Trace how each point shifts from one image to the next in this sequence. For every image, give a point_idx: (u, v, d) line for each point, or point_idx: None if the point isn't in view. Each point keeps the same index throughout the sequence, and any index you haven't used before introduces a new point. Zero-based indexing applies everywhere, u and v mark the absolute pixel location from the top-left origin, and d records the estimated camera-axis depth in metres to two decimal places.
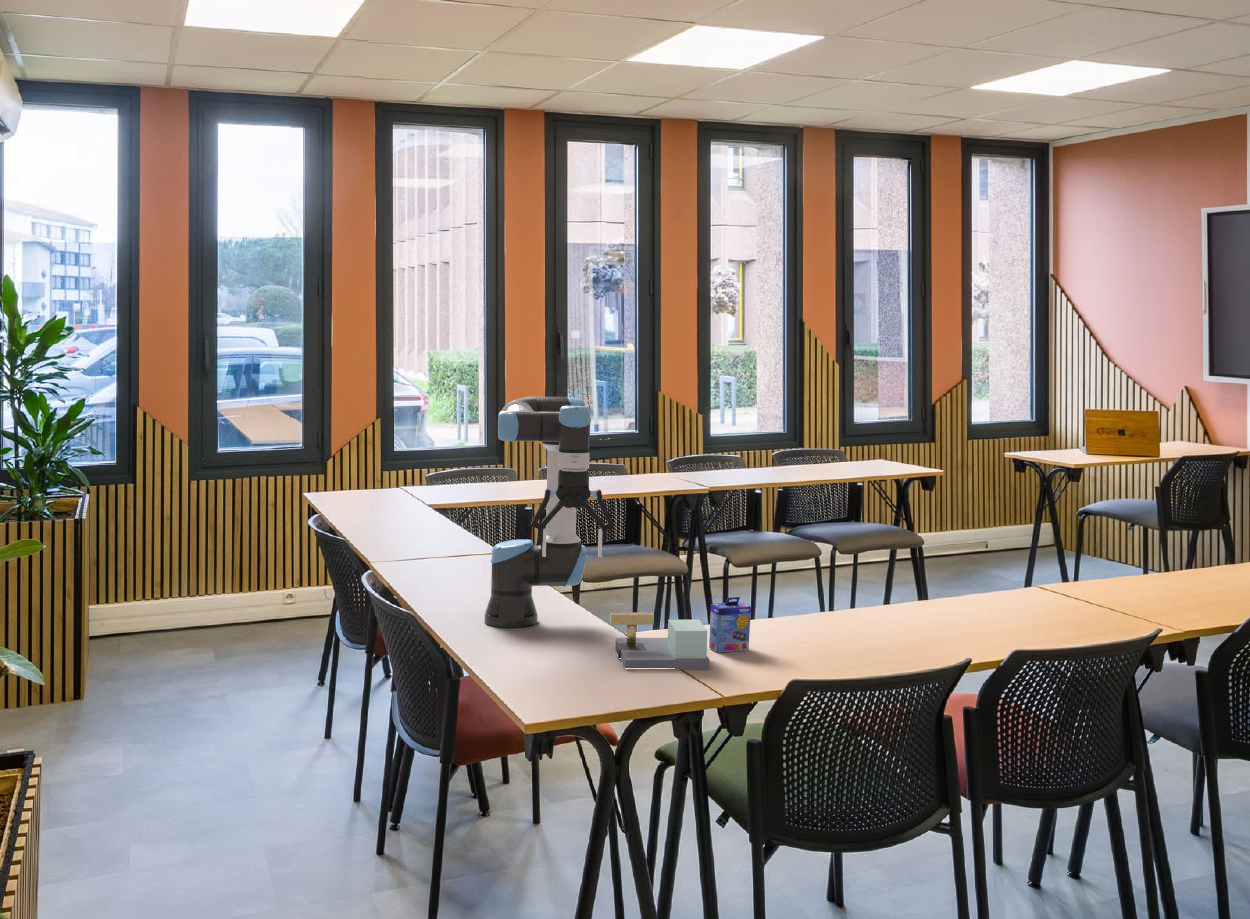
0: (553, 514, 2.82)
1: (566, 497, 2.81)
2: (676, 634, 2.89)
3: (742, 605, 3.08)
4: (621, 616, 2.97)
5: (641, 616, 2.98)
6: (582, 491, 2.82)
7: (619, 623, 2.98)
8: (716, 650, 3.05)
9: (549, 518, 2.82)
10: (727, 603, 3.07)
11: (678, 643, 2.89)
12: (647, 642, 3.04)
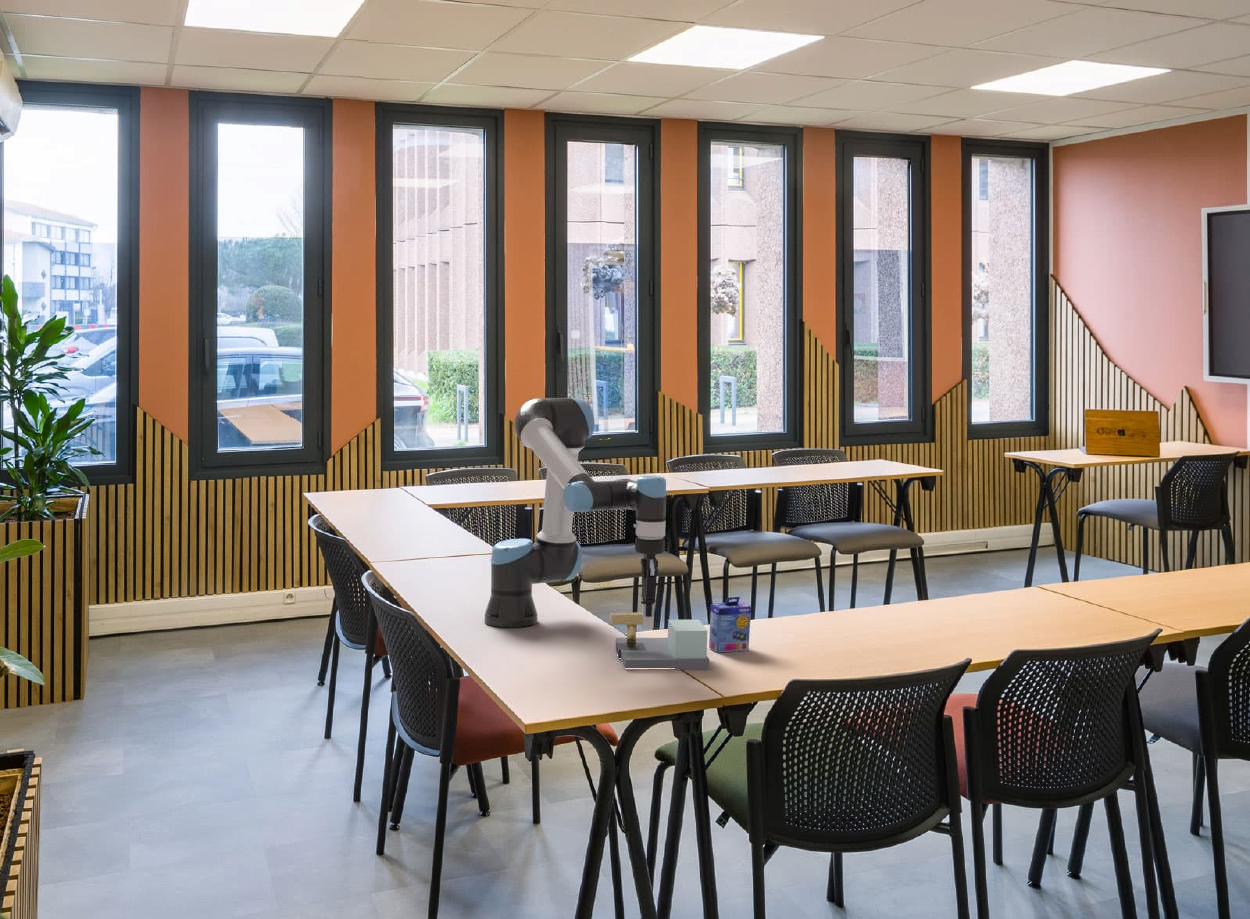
0: (643, 582, 2.98)
1: (641, 562, 2.98)
2: (676, 634, 2.89)
3: (742, 605, 3.08)
4: (621, 616, 2.97)
5: (641, 616, 2.98)
6: (646, 557, 2.94)
7: (619, 623, 2.98)
8: (716, 650, 3.05)
9: (643, 588, 2.98)
10: (727, 603, 3.07)
11: (678, 643, 2.89)
12: (647, 642, 3.04)
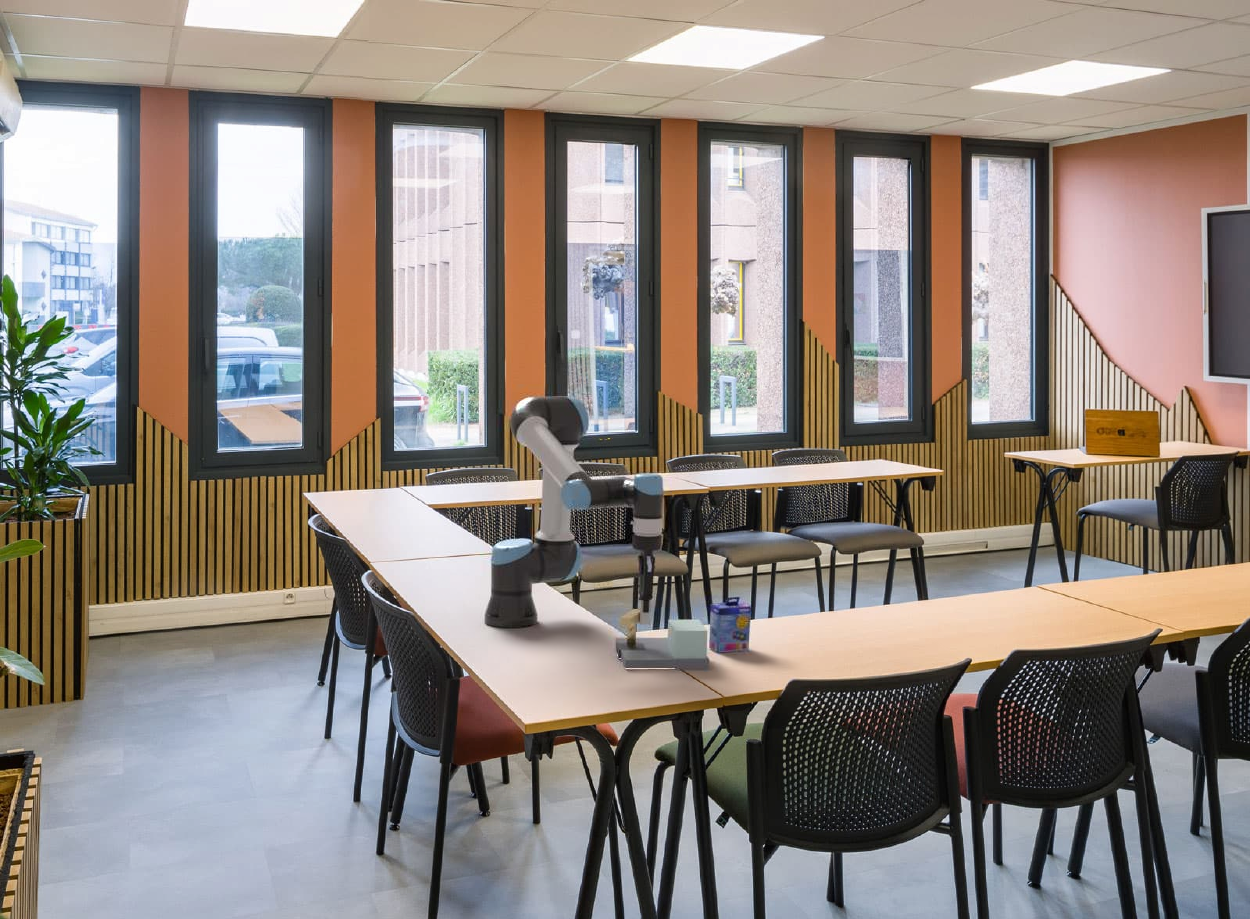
0: (640, 579, 3.02)
1: (638, 559, 3.02)
2: (676, 634, 2.89)
3: (742, 605, 3.08)
4: (633, 618, 2.96)
5: (639, 613, 3.01)
6: (643, 553, 2.97)
7: (632, 625, 2.96)
8: (716, 650, 3.05)
9: (640, 584, 3.02)
10: (727, 603, 3.07)
11: (678, 643, 2.89)
12: (647, 642, 3.04)
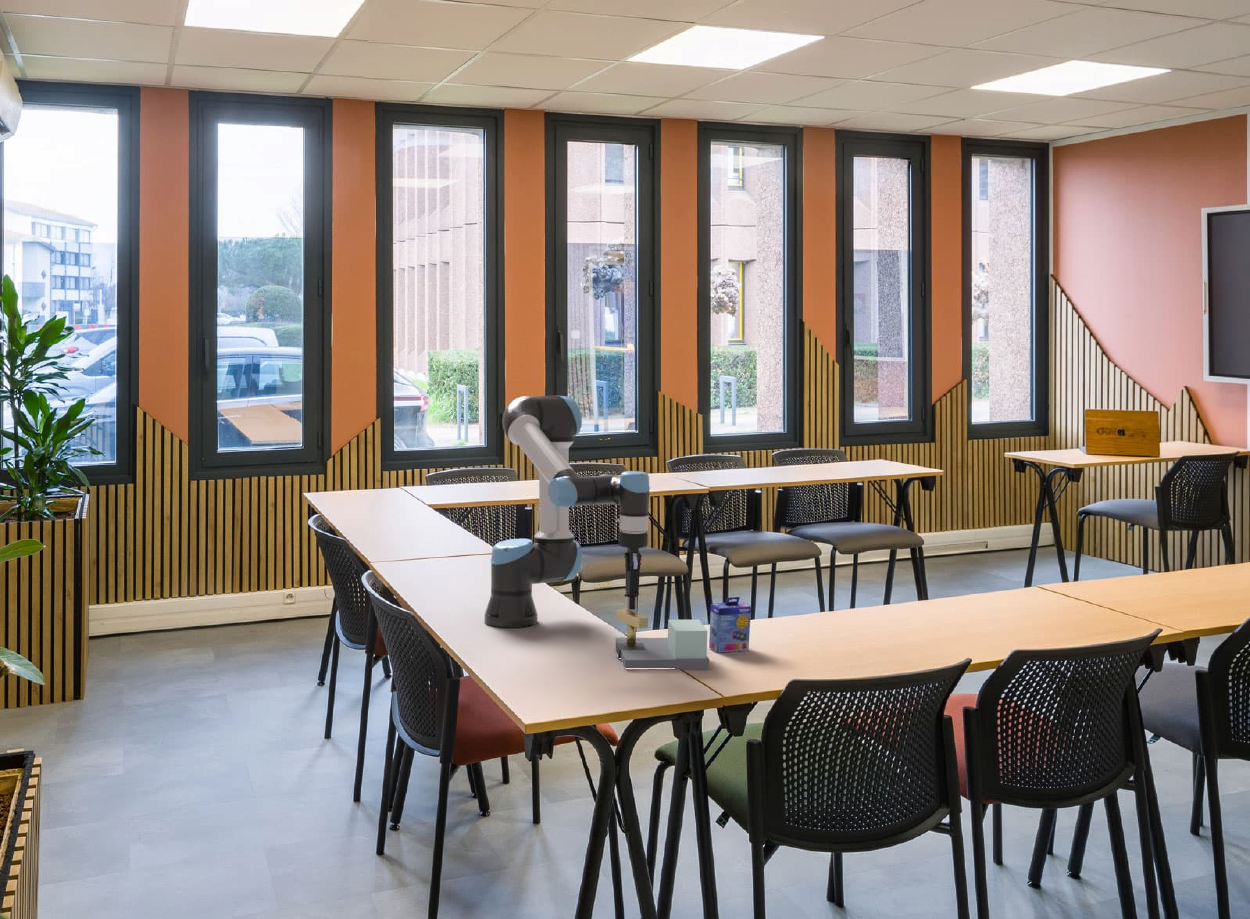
0: (627, 576, 3.04)
1: (624, 556, 3.04)
2: (676, 634, 2.89)
3: (742, 605, 3.08)
4: None
5: None
6: (630, 551, 3.00)
7: None
8: (716, 650, 3.05)
9: (626, 581, 3.04)
10: (727, 603, 3.07)
11: (678, 643, 2.89)
12: (647, 642, 3.04)
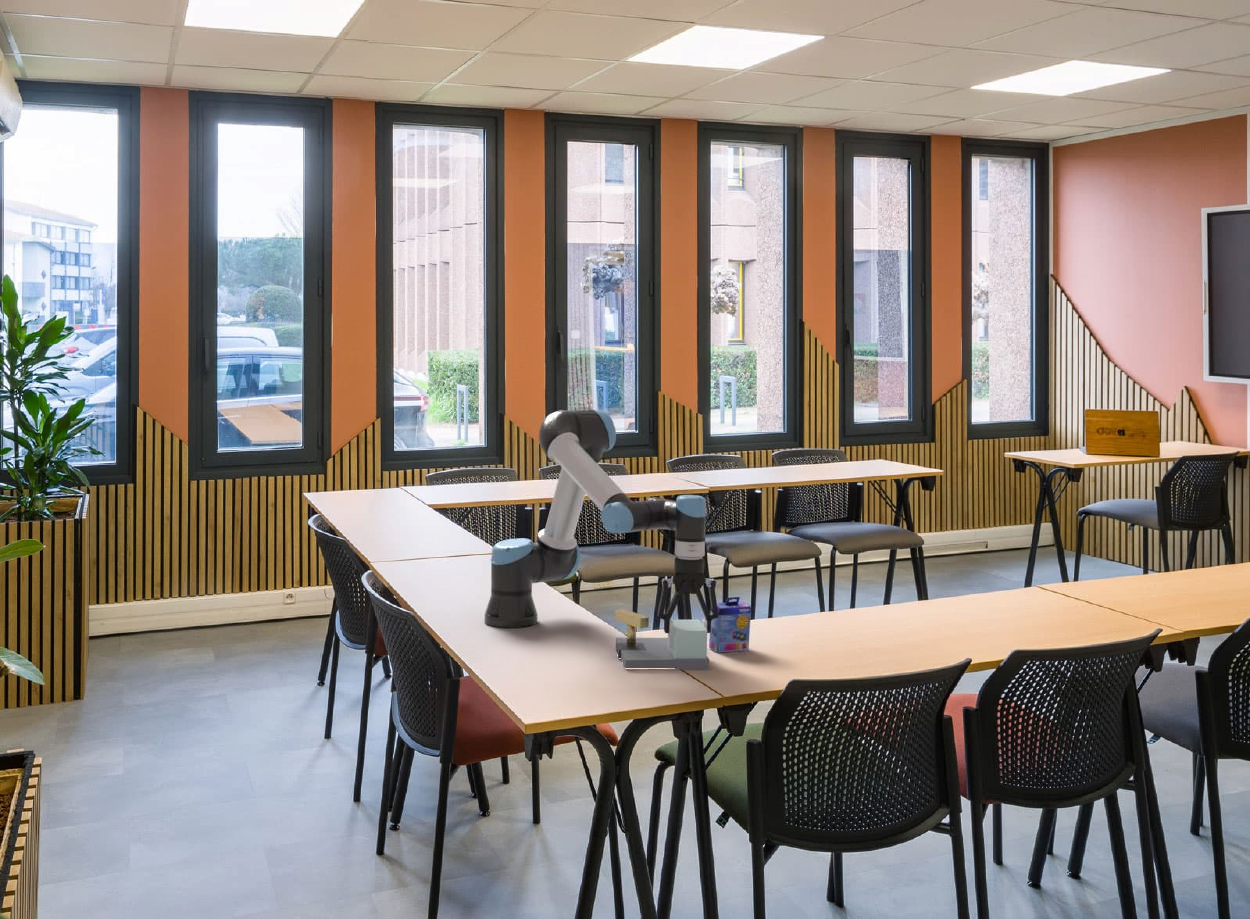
0: (675, 603, 2.93)
1: (683, 584, 2.92)
2: (676, 634, 2.89)
3: (742, 605, 3.08)
4: None
5: None
6: (699, 577, 2.93)
7: None
8: (716, 650, 3.05)
9: (673, 608, 2.93)
10: (727, 603, 3.07)
11: (678, 643, 2.89)
12: (647, 642, 3.04)
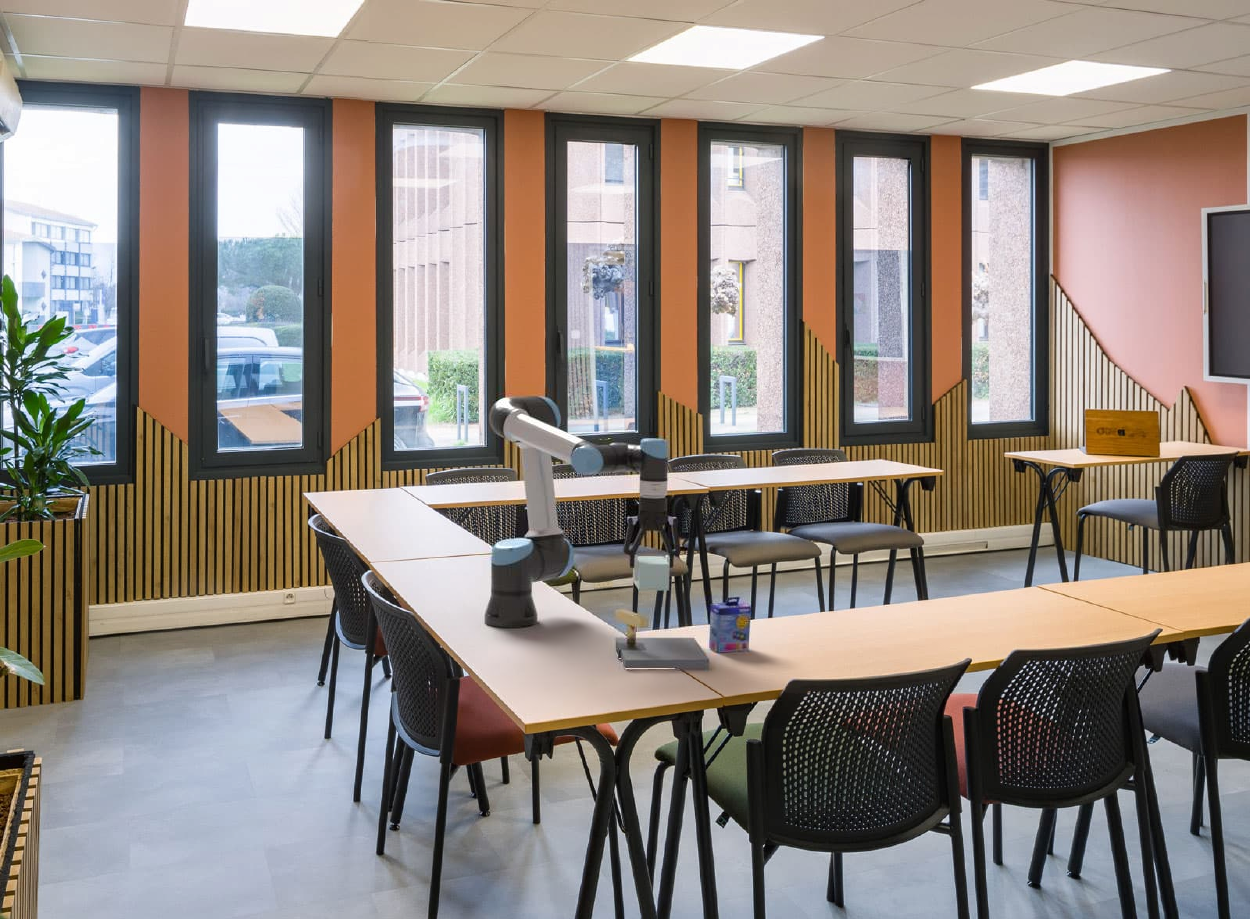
0: (640, 539, 3.13)
1: (647, 521, 3.12)
2: (640, 567, 3.08)
3: (742, 605, 3.08)
4: None
5: None
6: (662, 515, 3.13)
7: None
8: (716, 650, 3.05)
9: (637, 544, 3.13)
10: (727, 603, 3.07)
11: (642, 576, 3.09)
12: (647, 642, 3.04)
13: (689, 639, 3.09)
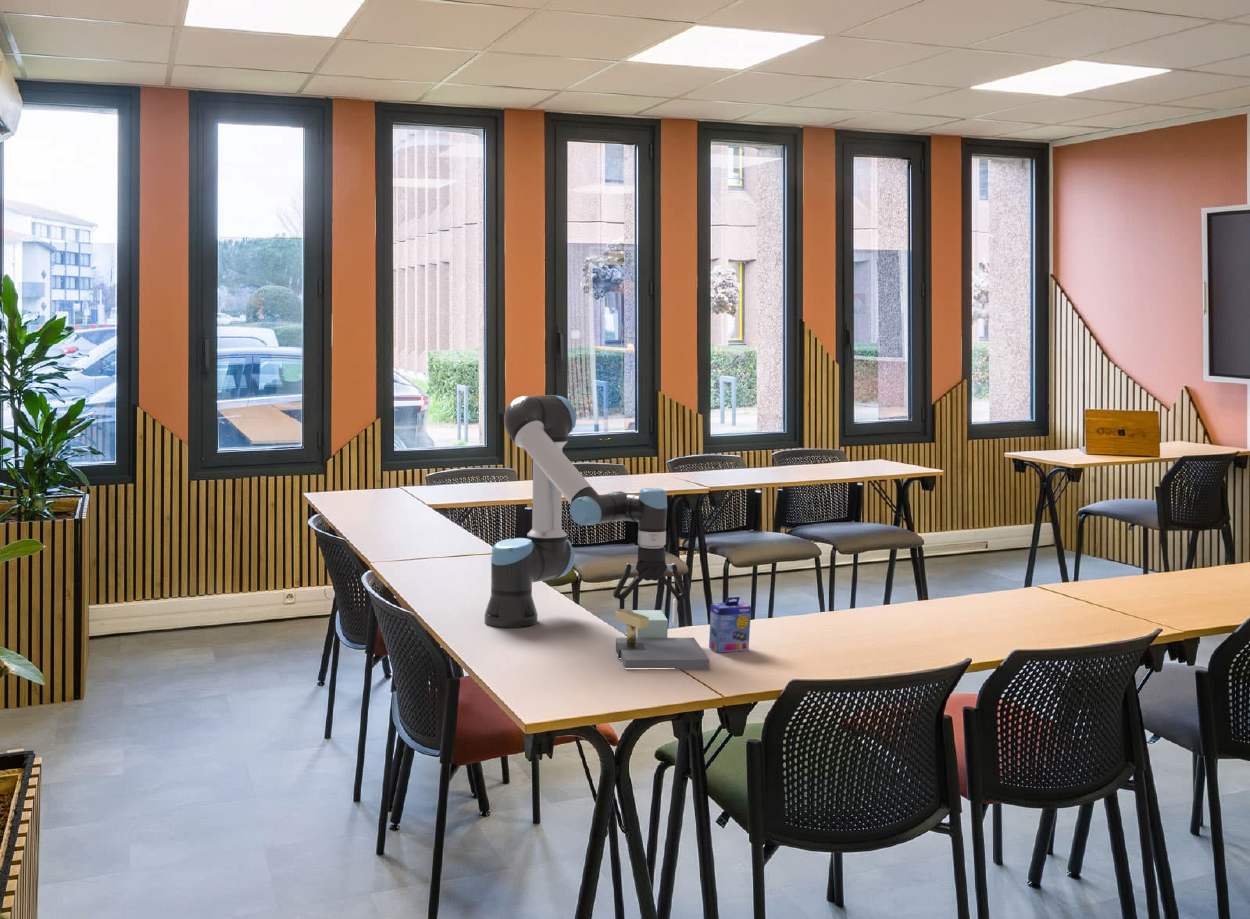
0: (633, 586, 3.14)
1: (645, 571, 3.13)
2: None
3: (742, 605, 3.08)
4: None
5: None
6: (659, 565, 3.14)
7: None
8: (716, 650, 3.05)
9: (630, 590, 3.14)
10: (727, 603, 3.07)
11: (640, 632, 3.10)
12: (647, 642, 3.04)
13: (689, 639, 3.09)
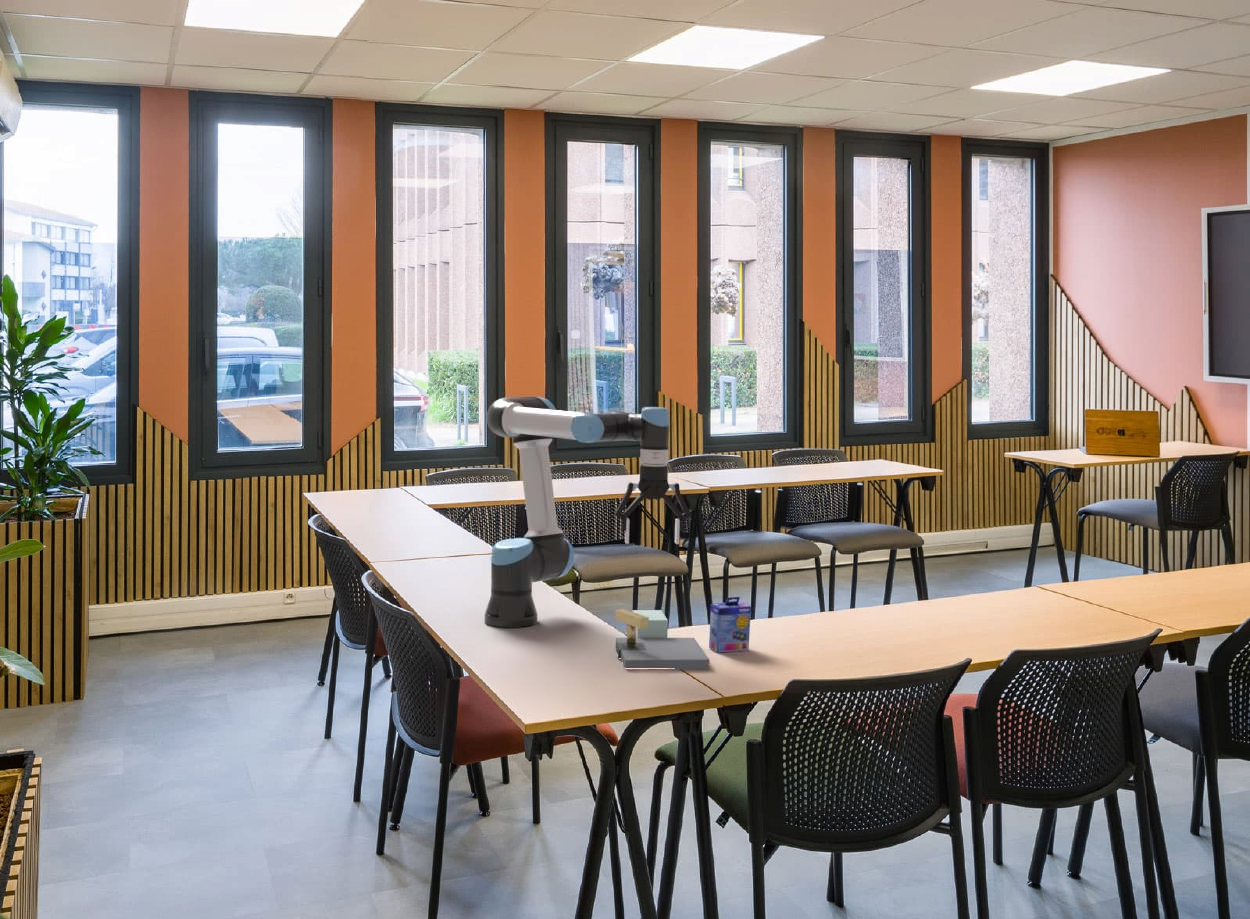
0: (635, 505, 3.12)
1: (647, 490, 3.11)
2: None
3: (742, 605, 3.08)
4: None
5: None
6: (662, 484, 3.12)
7: None
8: (716, 650, 3.05)
9: (632, 509, 3.11)
10: (727, 603, 3.07)
11: (640, 632, 3.10)
12: (647, 642, 3.04)
13: (689, 639, 3.09)
